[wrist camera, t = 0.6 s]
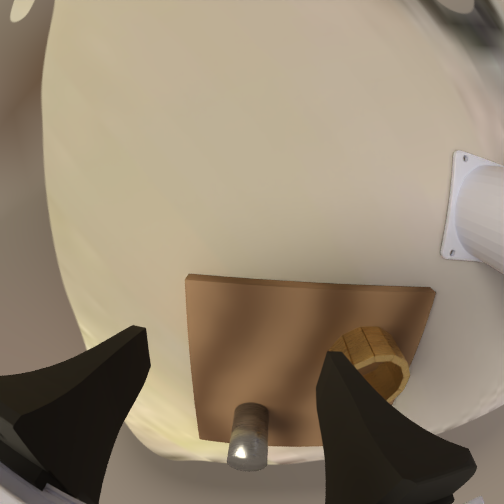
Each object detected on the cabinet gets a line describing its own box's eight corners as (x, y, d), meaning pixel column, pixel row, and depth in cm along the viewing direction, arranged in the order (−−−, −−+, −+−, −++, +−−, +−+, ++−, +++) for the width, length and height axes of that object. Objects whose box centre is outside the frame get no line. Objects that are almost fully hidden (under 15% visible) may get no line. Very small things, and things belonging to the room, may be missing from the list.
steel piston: (270, 403, 22) (268, 455, 16) (267, 423, 22) (265, 472, 17) (234, 400, 22) (226, 452, 16) (234, 421, 23) (227, 469, 17)
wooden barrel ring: (401, 326, 19) (419, 353, 15) (382, 379, 20) (394, 408, 17) (334, 326, 19) (345, 356, 16) (321, 382, 21) (326, 413, 17)
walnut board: (429, 287, 19) (435, 292, 18) (369, 435, 24) (371, 441, 23) (188, 273, 19) (184, 279, 18) (201, 432, 25) (199, 439, 24)
